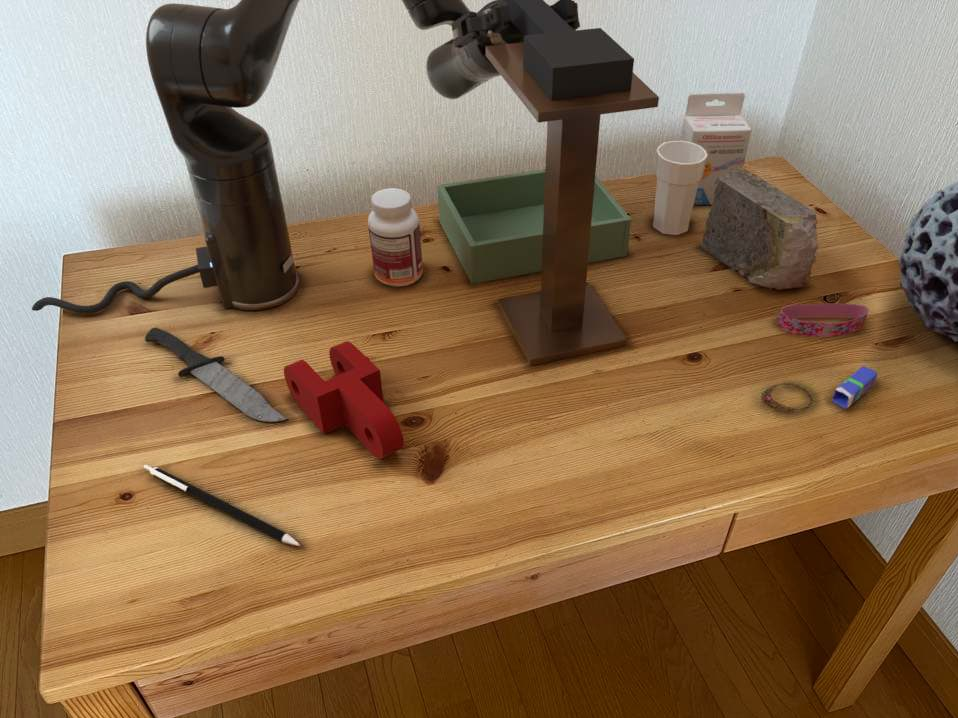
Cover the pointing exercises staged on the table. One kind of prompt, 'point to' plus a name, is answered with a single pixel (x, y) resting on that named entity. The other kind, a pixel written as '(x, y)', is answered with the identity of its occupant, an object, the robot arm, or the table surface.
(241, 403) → the knife
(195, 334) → the table surface
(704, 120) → the ink box
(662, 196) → the cup
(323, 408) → the mechanical linkage
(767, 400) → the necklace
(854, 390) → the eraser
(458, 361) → the table surface
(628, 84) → the bar
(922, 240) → the decorative object
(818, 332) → the headband
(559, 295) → the shelf stand
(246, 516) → the pen
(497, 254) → the bin
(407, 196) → the pill bottle
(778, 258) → the geological specimen
